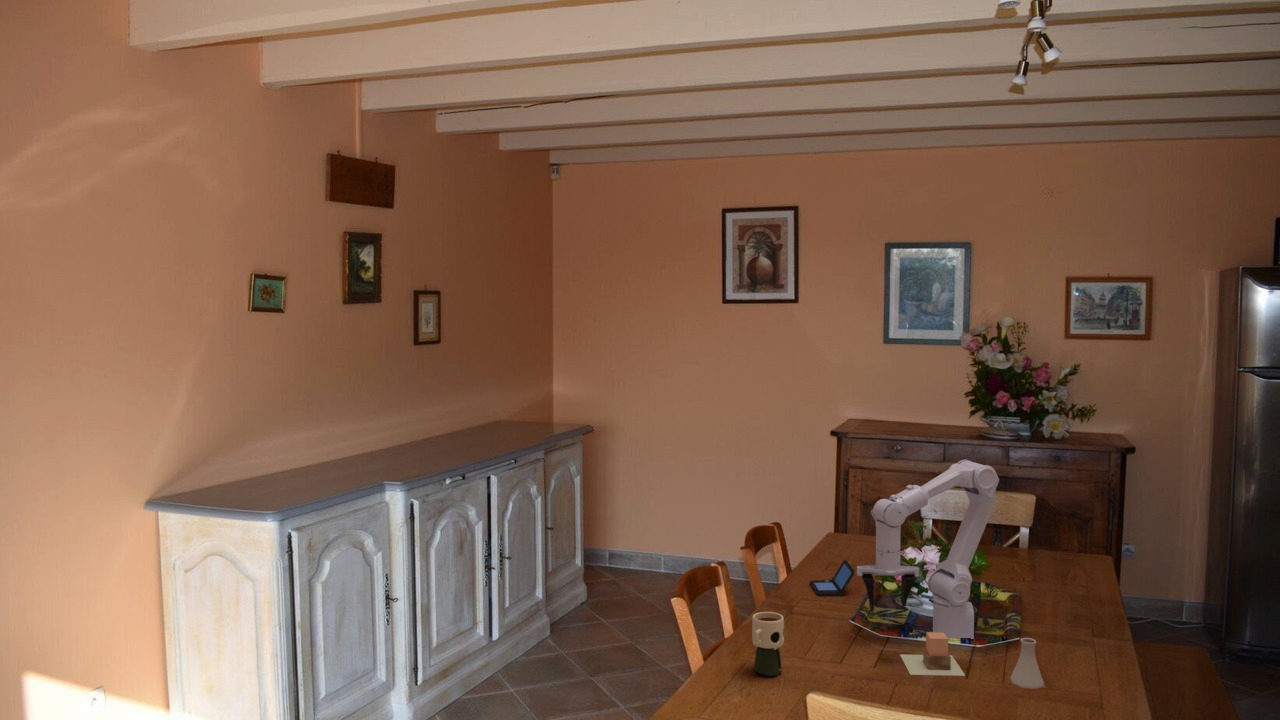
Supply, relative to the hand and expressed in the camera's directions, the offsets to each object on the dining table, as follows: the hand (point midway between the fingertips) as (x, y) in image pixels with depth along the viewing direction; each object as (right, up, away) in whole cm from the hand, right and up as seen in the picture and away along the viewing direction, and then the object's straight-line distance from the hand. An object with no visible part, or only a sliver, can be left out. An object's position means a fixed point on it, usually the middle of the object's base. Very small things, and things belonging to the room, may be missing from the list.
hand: (887, 604), depth 238 cm
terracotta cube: (+8, -7, -14) cm, 18 cm away
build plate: (+7, -11, -14) cm, 19 cm away
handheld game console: (-5, -7, +44) cm, 45 cm away
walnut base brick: (+8, -10, -14) cm, 19 cm away
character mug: (-31, -12, -16) cm, 37 cm away
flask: (+24, -12, -24) cm, 36 cm away
